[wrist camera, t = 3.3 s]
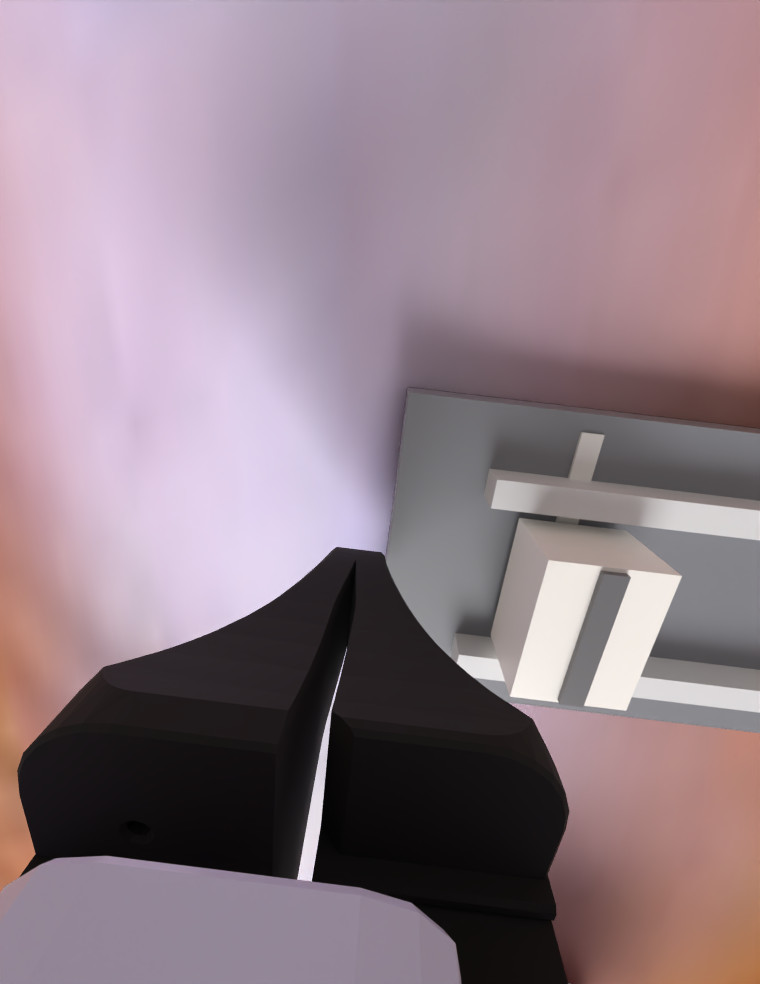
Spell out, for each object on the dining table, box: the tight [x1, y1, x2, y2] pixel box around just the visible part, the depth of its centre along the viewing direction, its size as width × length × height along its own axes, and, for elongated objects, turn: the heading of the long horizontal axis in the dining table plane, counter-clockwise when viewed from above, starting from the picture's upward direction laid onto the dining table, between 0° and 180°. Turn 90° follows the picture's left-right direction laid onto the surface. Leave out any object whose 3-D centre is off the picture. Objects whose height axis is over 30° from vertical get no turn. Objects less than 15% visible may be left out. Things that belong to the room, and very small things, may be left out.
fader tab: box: [491, 518, 682, 711], centre depth 11 cm, size 3×4×3 cm
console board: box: [385, 387, 760, 733], centre depth 13 cm, size 18×10×2 cm, turn 84°
